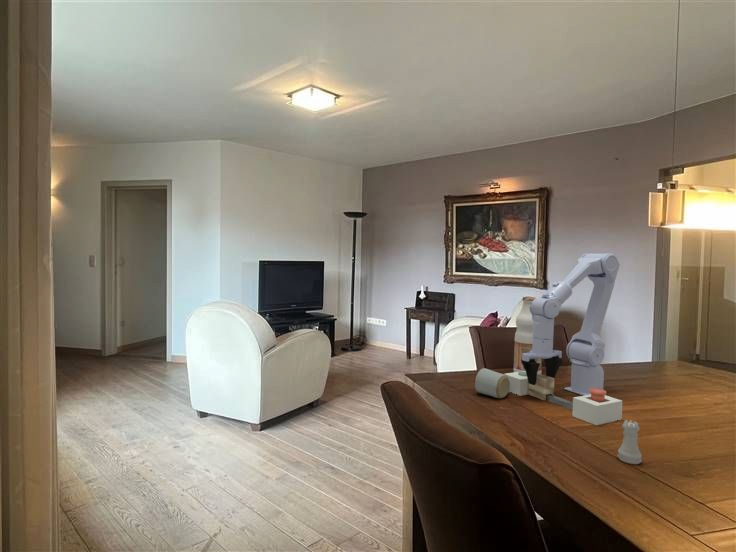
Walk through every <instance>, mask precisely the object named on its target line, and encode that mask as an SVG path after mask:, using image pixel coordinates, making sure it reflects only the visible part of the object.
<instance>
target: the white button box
mask: <svg viewBox="0 0 736 552" xmlns="http://www.w3.org/2000/svg"><path fill="white" fill-rule="evenodd" d="M503 375H505V376H507V377H508V379H509V382H510V391H509V393H511V392H512V394H514V395H516V394H517V395H516V396H526V395H527V396H528V395H529V394H528V388H529V383H528V378H527V374H526V371H521V372H514V371H513V372H507V373H503Z"/></svg>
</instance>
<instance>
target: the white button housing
mask: <svg viewBox="0 0 736 552" xmlns="http://www.w3.org/2000/svg"><path fill="white" fill-rule="evenodd" d="M572 402H573V410H572V414H571V415H572V417H573V418H576V419H578V420H581V421H584V422H586V423H589V424H592V425H595V426H601V425H605V424H608V423H613V422H617V420H618V421H621V420H622V419H623V400H621V399H618V398H616V397H615V398H614V397H612V396H609V395H607V394H606V395H605V401H604V402H601V403H599V402H596V401H593V400H591V394H590V395H585V396H583V395H580V396H574V397H572Z"/></svg>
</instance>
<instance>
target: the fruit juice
mask: <svg viewBox="0 0 736 552" xmlns="http://www.w3.org/2000/svg"><path fill="white" fill-rule="evenodd" d="M536 298H537V297H536V296H523V297H522V307H521V310H520V311H519V313H518V314H517V316H516V318H515V325H516V326H515V327H516V330H515V333H514V348H513V349H514V351H513V354H514V355H513V372H521V371H525V368H524V366H523V364H522V363H521V359H522V354H524V353H528V352H530V350H532V345H533V320H532V314H531V312H530V309H529V307H530V306H531V303H532V301H533V300H534V299H536ZM542 360H543V359H538V360H535V361H536V362H537V363H540V366H539V369H538V372H537V373H539V374H542V363H543V361H542Z"/></svg>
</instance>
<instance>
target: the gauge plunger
mask: <svg viewBox="0 0 736 552" xmlns="http://www.w3.org/2000/svg"><path fill="white" fill-rule="evenodd" d="M589 392H590V393H591V400H593V401H596V402H599V403H601V402H604V401H605V395H606V396H607V390H605V389H603V390H602V389H597V388H591V389H589Z"/></svg>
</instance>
